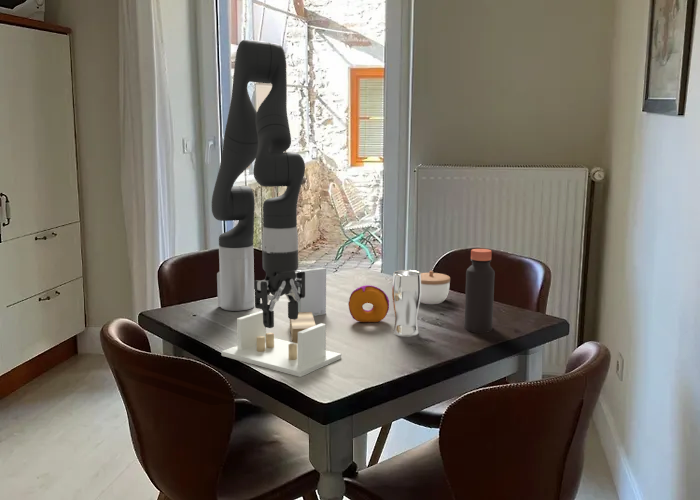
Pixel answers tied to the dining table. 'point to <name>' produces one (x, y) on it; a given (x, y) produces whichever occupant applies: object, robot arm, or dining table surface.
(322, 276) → the external hard drive
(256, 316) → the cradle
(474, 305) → the bottle
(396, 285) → the beer glass
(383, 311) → the donut
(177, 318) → the dining table surface
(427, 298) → the lidded jar
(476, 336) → the dining table surface
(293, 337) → the plank
